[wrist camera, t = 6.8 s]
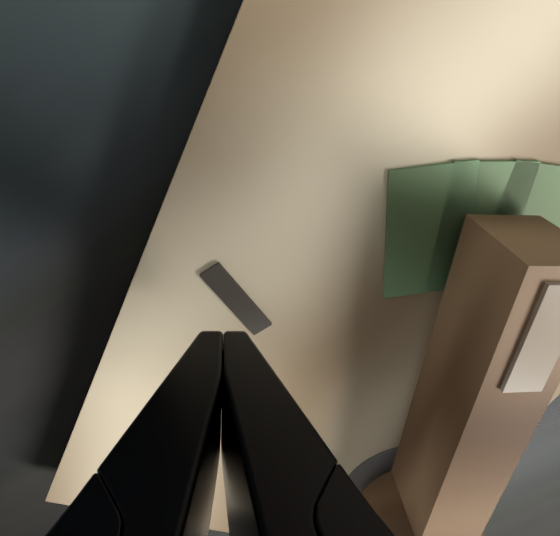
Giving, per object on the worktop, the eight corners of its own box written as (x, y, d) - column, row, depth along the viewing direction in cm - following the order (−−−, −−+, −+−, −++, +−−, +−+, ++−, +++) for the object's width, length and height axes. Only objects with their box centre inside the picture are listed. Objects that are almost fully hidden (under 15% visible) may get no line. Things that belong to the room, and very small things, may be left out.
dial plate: (816, 88, 10) (880, 96, 9) (377, 531, 17) (386, 562, 16) (371, -326, 6) (399, -391, 5) (57, 469, 13) (44, 504, 12)
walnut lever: (443, 523, 14) (476, 599, 13) (350, 530, 14) (369, 609, 12) (575, 215, 9) (669, 269, 7) (428, 213, 9) (484, 269, 7)
